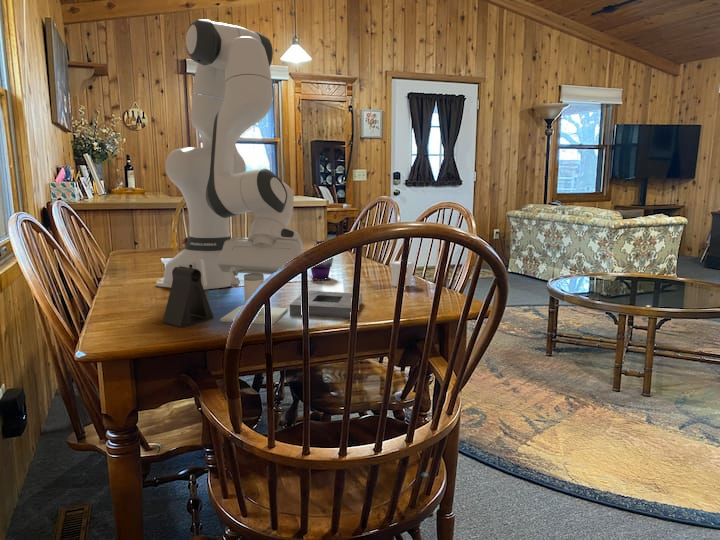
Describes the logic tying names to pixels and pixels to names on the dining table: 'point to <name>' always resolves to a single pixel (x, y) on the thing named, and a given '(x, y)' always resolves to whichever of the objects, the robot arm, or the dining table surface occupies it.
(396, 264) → the shot glass
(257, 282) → the end cover
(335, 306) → the block
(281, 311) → the mat
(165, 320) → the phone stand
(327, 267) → the potion bottle
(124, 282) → the dining table surface
